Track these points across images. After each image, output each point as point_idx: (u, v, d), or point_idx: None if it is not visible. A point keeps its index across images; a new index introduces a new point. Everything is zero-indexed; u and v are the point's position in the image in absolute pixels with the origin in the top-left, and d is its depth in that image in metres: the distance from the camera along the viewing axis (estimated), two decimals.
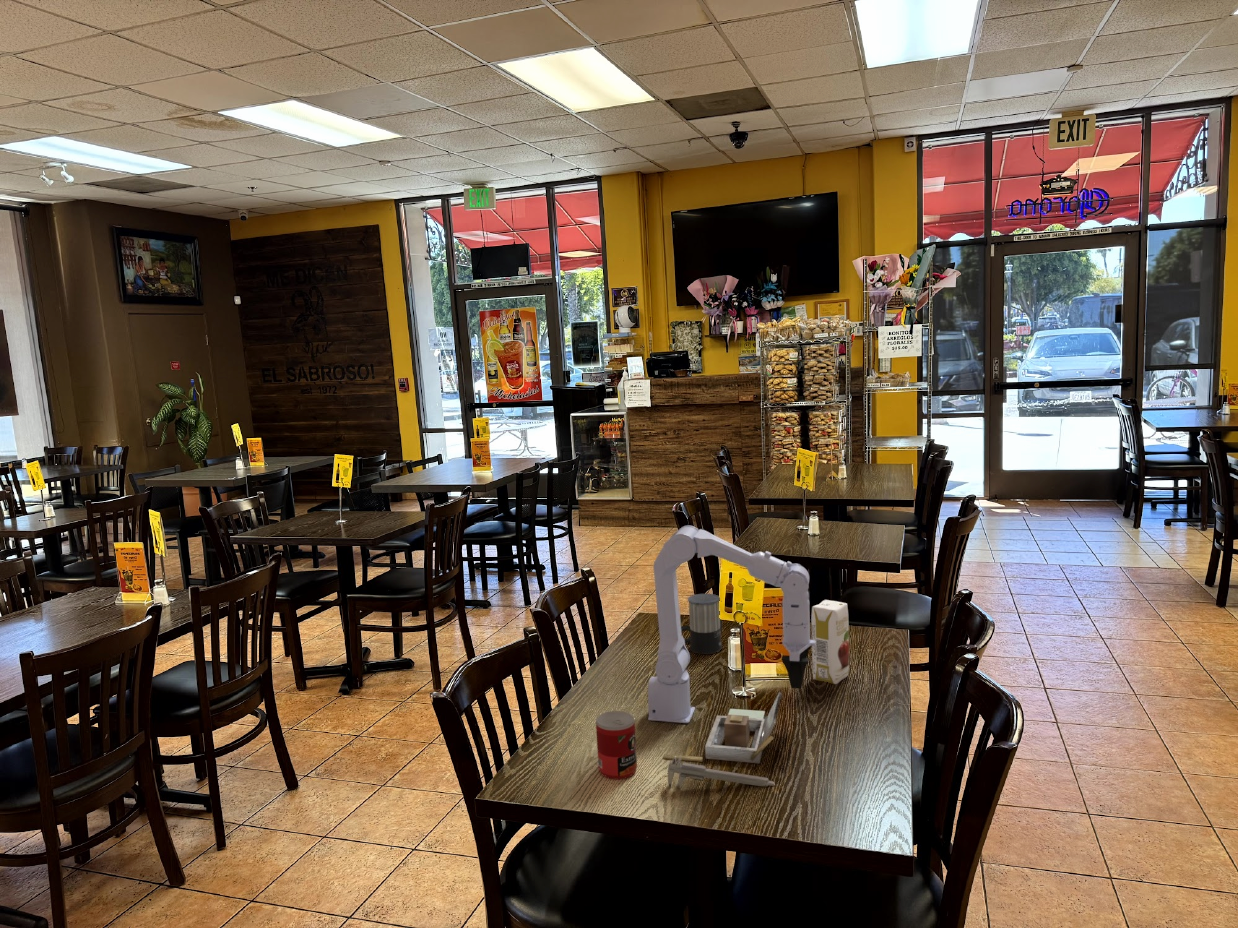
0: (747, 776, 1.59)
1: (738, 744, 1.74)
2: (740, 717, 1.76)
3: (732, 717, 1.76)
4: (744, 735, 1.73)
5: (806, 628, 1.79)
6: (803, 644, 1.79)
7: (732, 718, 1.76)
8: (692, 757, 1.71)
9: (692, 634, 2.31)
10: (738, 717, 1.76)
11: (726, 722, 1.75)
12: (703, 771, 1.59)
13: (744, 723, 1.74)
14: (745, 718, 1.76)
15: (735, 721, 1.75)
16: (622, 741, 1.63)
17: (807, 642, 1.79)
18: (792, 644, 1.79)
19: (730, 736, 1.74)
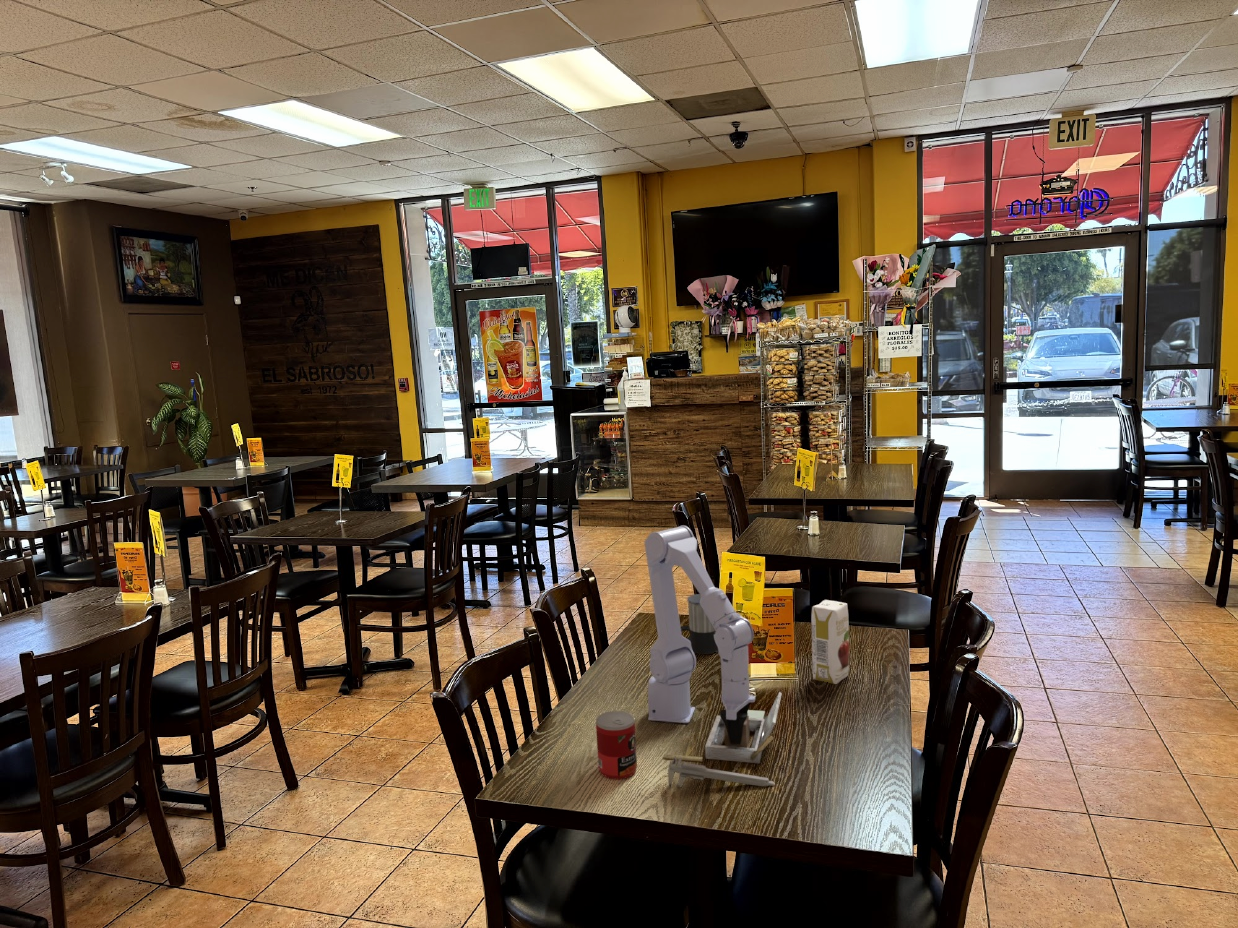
0: (747, 776, 1.59)
1: (738, 744, 1.74)
2: None
3: None
4: (744, 735, 1.73)
5: (745, 684, 1.72)
6: (741, 701, 1.72)
7: None
8: (692, 757, 1.71)
9: (691, 633, 2.31)
10: None
11: None
12: (703, 771, 1.59)
13: (744, 723, 1.74)
14: None
15: None
16: (622, 741, 1.63)
17: (746, 698, 1.73)
18: (730, 701, 1.73)
19: None
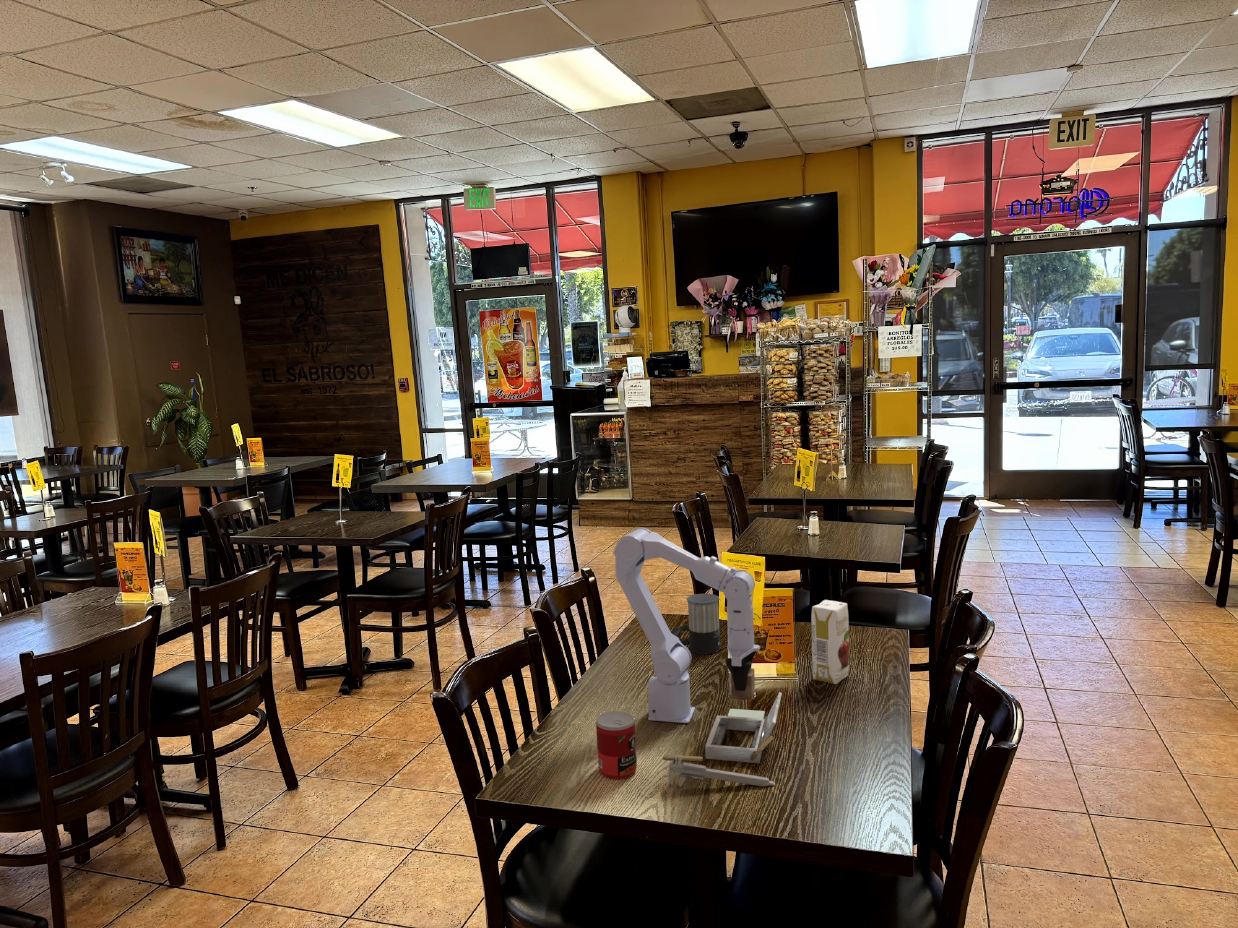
0: (747, 776, 1.59)
1: (744, 694, 1.83)
2: None
3: None
4: (749, 686, 1.82)
5: (749, 633, 1.81)
6: (746, 649, 1.81)
7: None
8: (692, 757, 1.71)
9: (691, 634, 2.31)
10: None
11: None
12: (703, 771, 1.59)
13: (750, 674, 1.82)
14: (751, 670, 1.85)
15: None
16: (622, 741, 1.63)
17: (751, 647, 1.81)
18: (736, 649, 1.81)
19: None
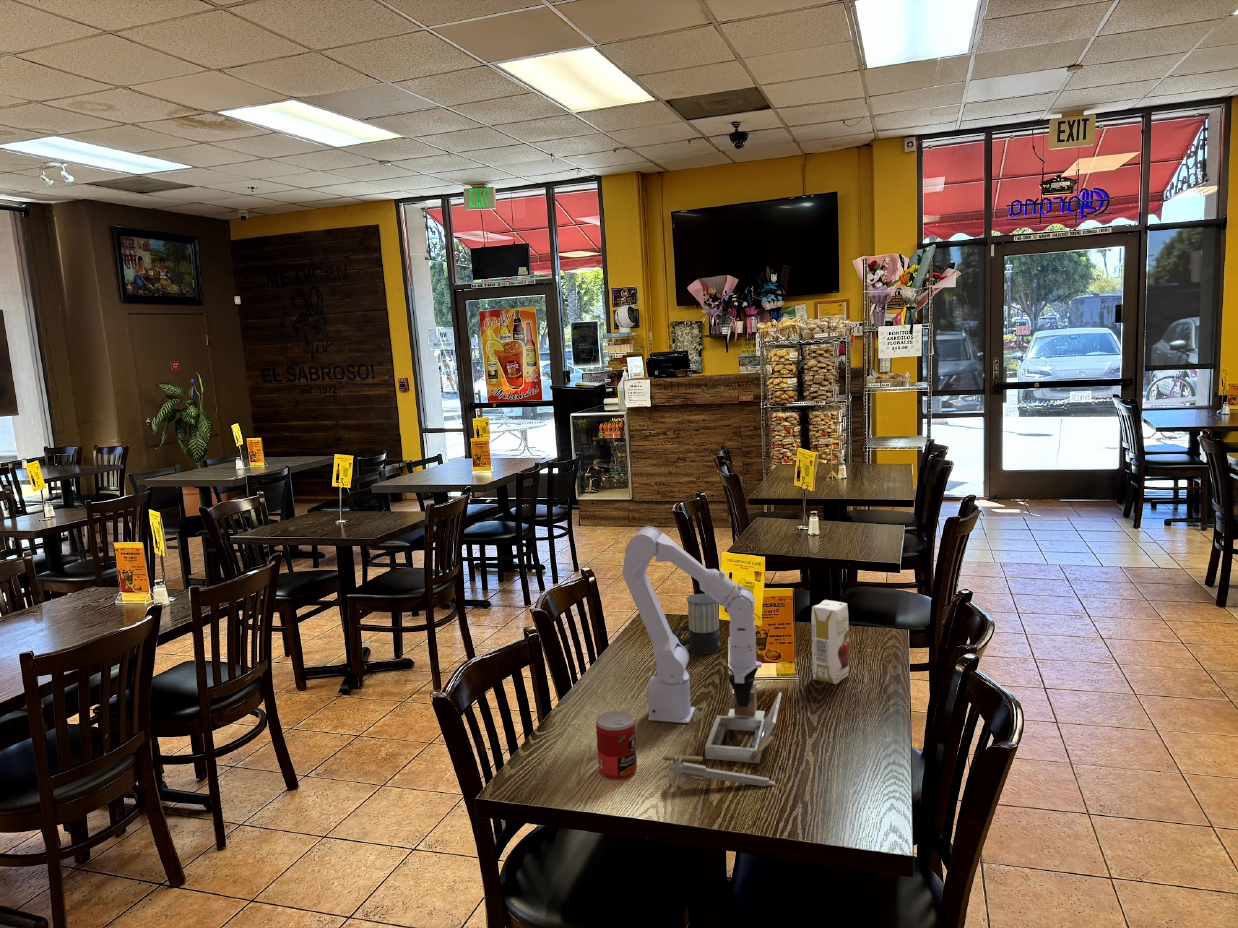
0: (748, 776, 1.59)
1: (746, 711, 1.86)
2: None
3: None
4: (752, 702, 1.85)
5: (752, 650, 1.84)
6: (749, 666, 1.84)
7: None
8: (692, 757, 1.71)
9: (691, 634, 2.31)
10: None
11: None
12: (704, 771, 1.59)
13: (752, 691, 1.85)
14: (753, 687, 1.88)
15: None
16: (622, 741, 1.63)
17: (753, 664, 1.84)
18: (738, 666, 1.84)
19: None
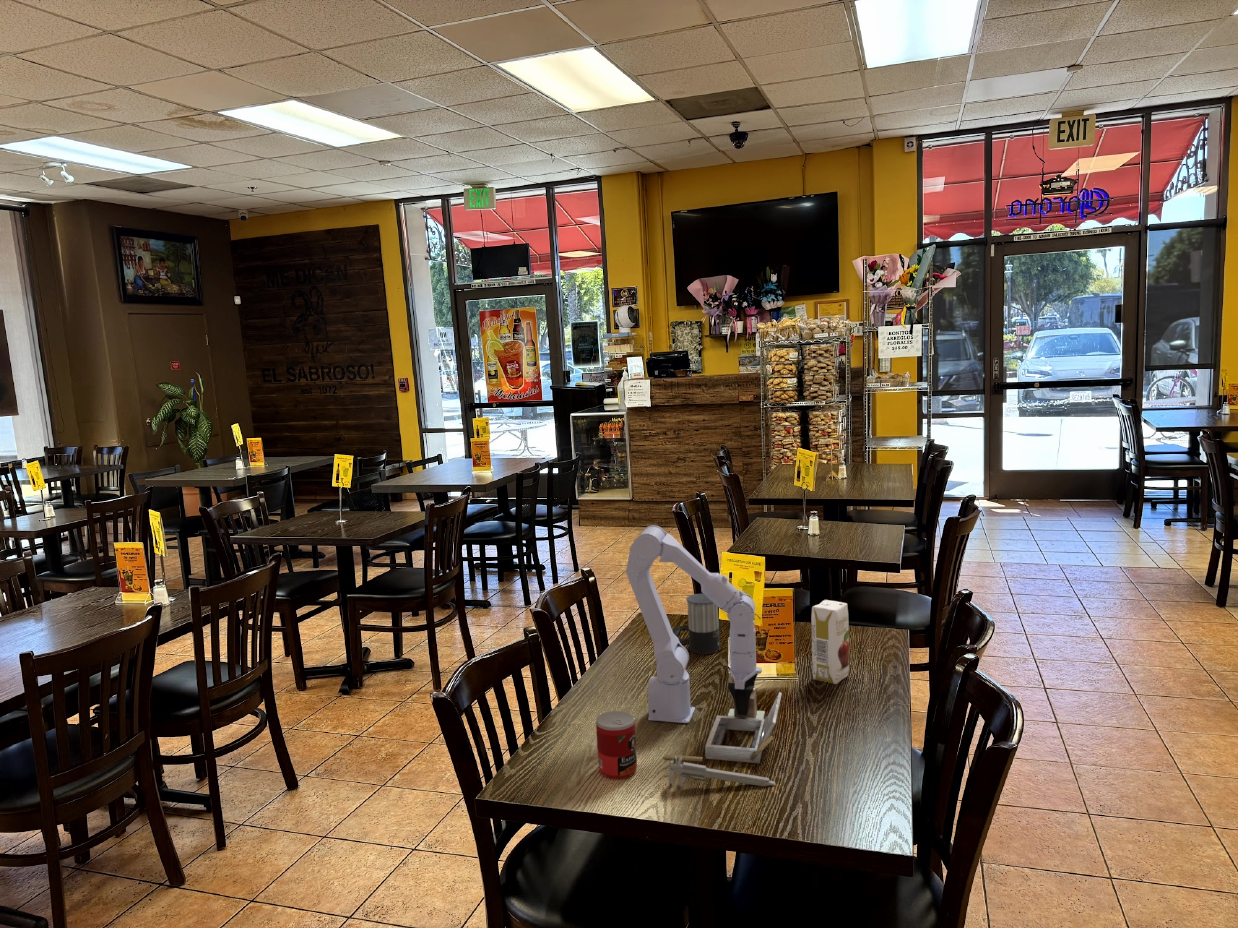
0: (748, 776, 1.59)
1: (746, 717, 1.86)
2: None
3: None
4: (752, 708, 1.85)
5: (752, 656, 1.84)
6: (749, 672, 1.84)
7: None
8: (692, 757, 1.71)
9: (690, 633, 2.31)
10: None
11: None
12: (704, 771, 1.59)
13: (752, 697, 1.86)
14: (753, 693, 1.88)
15: None
16: (622, 741, 1.63)
17: (753, 670, 1.85)
18: (738, 672, 1.84)
19: None
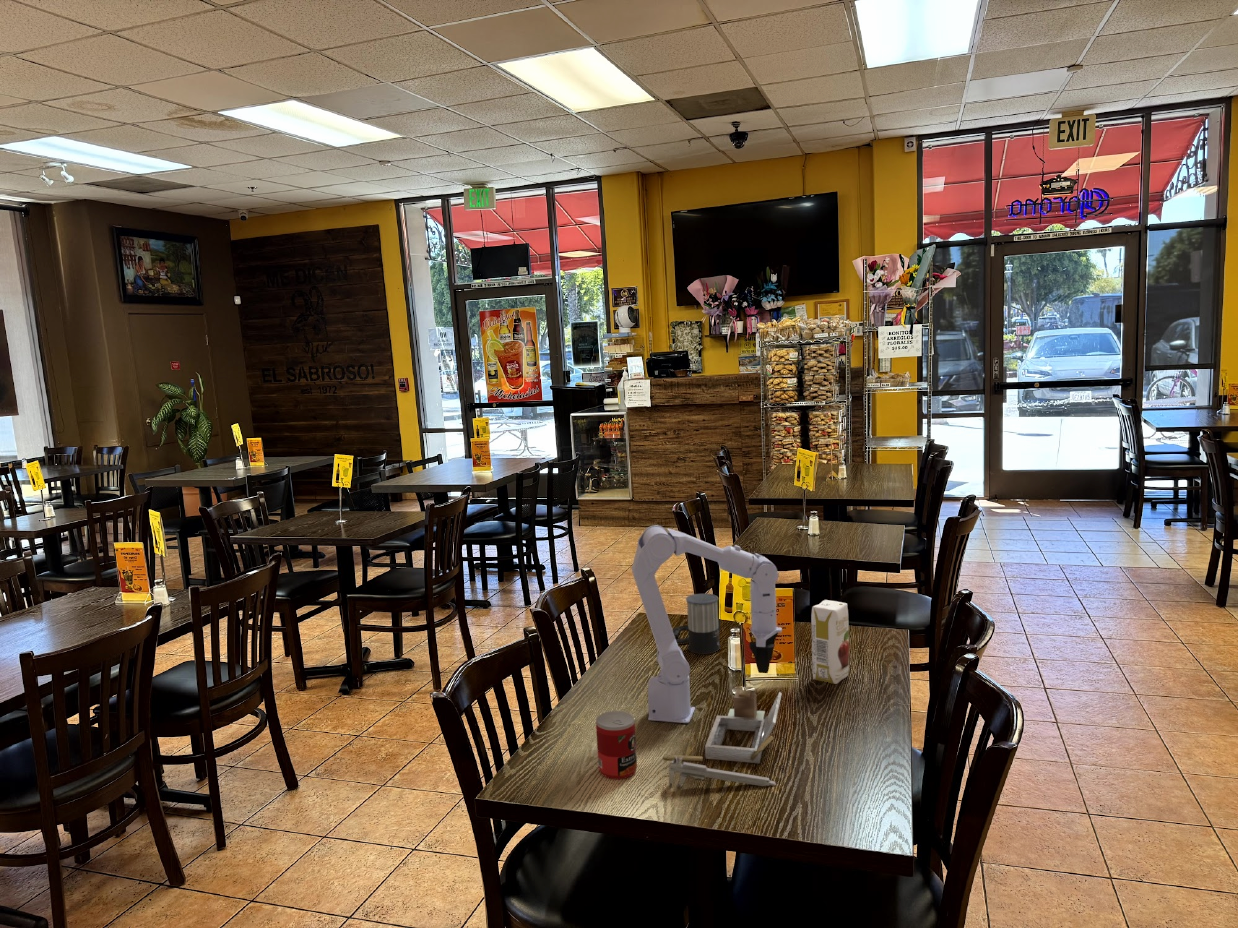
0: (748, 776, 1.59)
1: (746, 717, 1.86)
2: (748, 692, 1.88)
3: (741, 692, 1.88)
4: (752, 708, 1.85)
5: (772, 616, 1.89)
6: (769, 631, 1.89)
7: (741, 693, 1.87)
8: (692, 757, 1.71)
9: (690, 633, 2.32)
10: (746, 692, 1.88)
11: (735, 696, 1.86)
12: (704, 771, 1.59)
13: (752, 697, 1.86)
14: (753, 693, 1.88)
15: (743, 695, 1.86)
16: (622, 741, 1.63)
17: (773, 629, 1.89)
18: (759, 631, 1.89)
19: (738, 709, 1.86)
